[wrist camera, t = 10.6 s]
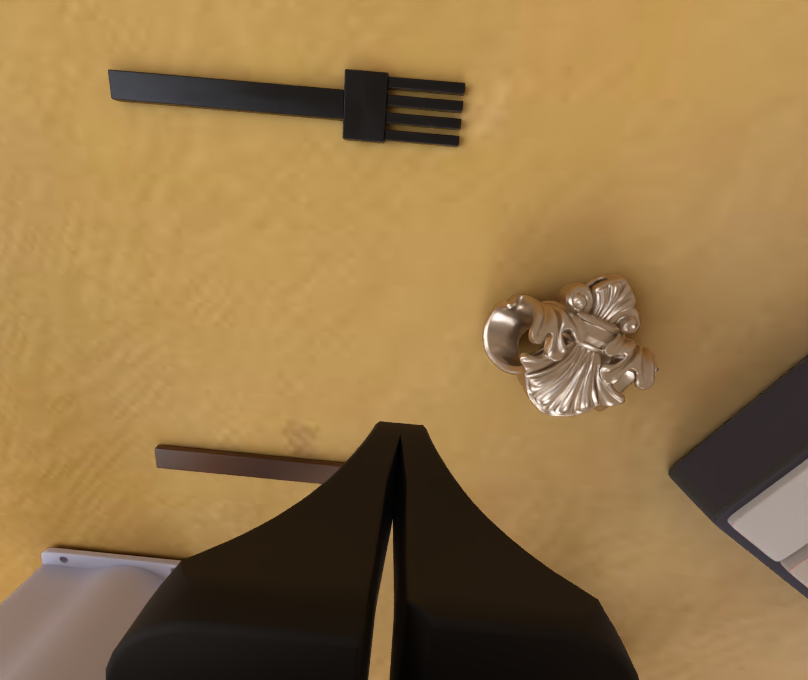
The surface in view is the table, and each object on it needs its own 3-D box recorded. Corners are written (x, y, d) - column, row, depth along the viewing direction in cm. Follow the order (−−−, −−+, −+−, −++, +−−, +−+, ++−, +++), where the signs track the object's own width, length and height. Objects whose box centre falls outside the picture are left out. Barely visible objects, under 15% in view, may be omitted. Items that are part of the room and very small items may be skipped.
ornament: (674, 303, 19) (730, 323, 16) (597, 419, 21) (632, 460, 18) (525, 235, 18) (549, 240, 15) (461, 362, 21) (469, 392, 17)
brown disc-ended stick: (162, 480, 24) (156, 487, 23) (156, 426, 22) (149, 432, 22) (412, 505, 23) (412, 512, 23) (418, 452, 22) (418, 458, 22)
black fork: (120, 120, 18) (113, 118, 17) (111, 51, 17) (104, 48, 17) (457, 150, 18) (458, 148, 17) (465, 82, 17) (466, 79, 16)
